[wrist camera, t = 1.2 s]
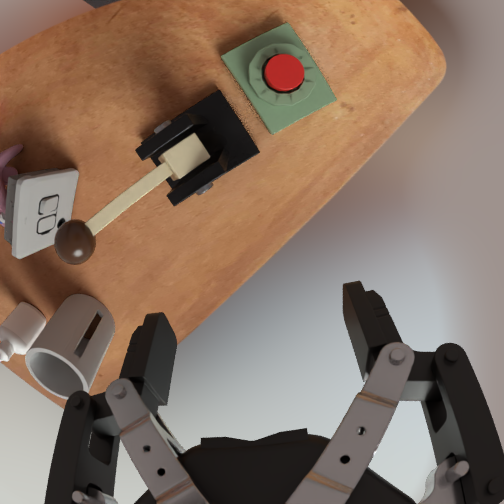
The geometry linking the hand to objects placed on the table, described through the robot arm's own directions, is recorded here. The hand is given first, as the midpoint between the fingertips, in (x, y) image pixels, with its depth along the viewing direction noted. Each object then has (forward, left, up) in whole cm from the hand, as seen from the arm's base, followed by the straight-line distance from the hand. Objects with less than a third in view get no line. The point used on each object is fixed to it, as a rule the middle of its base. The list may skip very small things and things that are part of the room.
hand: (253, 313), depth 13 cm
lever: (-7, -6, -11) cm, 14 cm away
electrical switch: (-12, -20, -23) cm, 33 cm away
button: (-9, +10, -20) cm, 24 cm away
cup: (+3, -29, -23) cm, 37 cm away
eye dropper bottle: (-3, -38, -23) cm, 45 cm away
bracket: (-7, -1, -23) cm, 24 cm away
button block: (-9, +10, -23) cm, 26 cm away
